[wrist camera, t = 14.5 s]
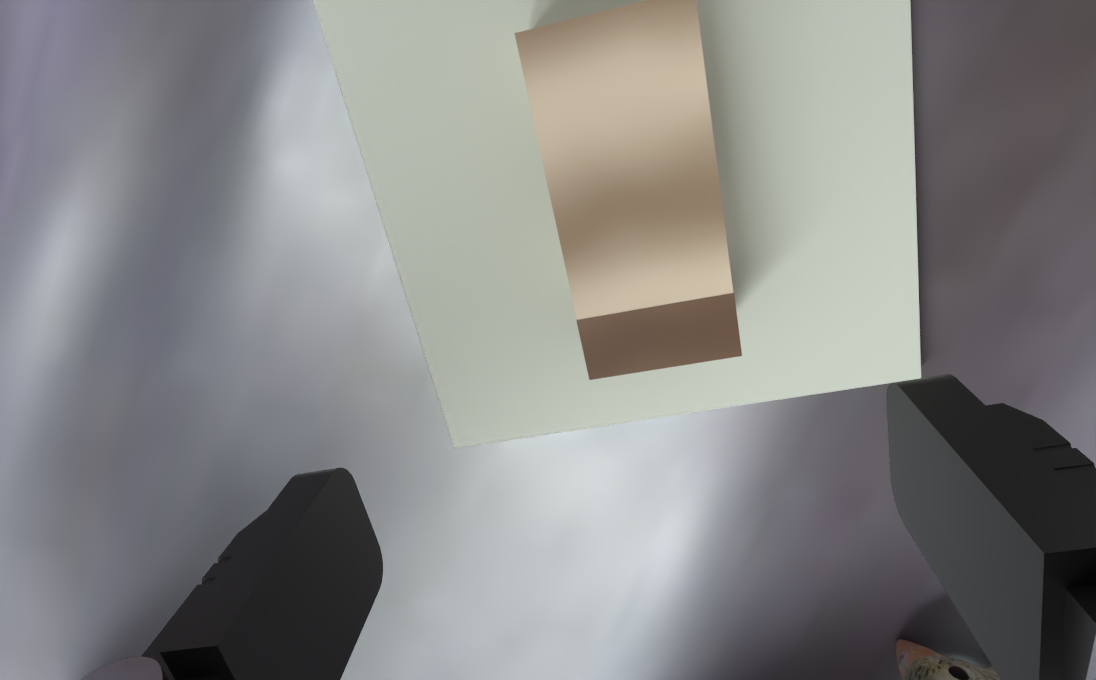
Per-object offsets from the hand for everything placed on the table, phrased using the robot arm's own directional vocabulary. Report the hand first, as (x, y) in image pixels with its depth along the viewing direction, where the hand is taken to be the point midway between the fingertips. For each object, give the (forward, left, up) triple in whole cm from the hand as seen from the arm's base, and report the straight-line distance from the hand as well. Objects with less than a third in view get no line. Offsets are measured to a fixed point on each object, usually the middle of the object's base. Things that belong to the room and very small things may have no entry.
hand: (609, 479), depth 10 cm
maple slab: (+1, +1, -18) cm, 18 cm away
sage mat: (+1, +1, -18) cm, 18 cm away
